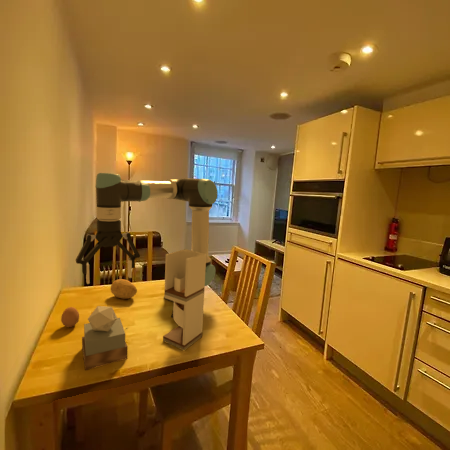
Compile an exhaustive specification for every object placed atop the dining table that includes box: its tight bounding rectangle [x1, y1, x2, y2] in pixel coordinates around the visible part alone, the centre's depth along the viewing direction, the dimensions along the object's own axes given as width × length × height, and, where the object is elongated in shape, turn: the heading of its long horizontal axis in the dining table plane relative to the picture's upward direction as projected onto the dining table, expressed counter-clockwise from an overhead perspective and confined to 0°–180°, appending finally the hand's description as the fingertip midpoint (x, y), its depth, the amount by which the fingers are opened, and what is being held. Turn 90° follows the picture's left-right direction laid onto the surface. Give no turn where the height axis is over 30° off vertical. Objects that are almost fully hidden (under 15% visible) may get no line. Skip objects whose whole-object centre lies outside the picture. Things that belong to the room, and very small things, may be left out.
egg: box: [60, 306, 80, 328], centre depth 109 cm, size 6×6×8 cm
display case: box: [162, 248, 206, 351], centre depth 103 cm, size 11×11×35 cm
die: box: [87, 305, 118, 332], centre depth 91 cm, size 8×9×10 cm
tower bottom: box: [81, 336, 129, 371], centre depth 93 cm, size 13×13×5 cm
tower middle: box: [83, 317, 126, 356], centre depth 92 cm, size 12×12×5 cm
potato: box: [110, 278, 138, 300], centre depth 139 cm, size 10×14×10 cm
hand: (109, 279), depth 92 cm, fingers open, 13 cm apart
